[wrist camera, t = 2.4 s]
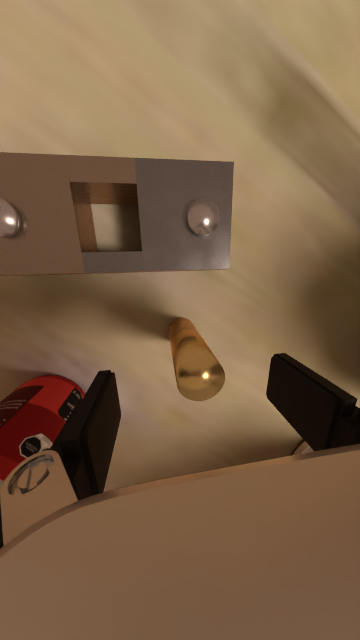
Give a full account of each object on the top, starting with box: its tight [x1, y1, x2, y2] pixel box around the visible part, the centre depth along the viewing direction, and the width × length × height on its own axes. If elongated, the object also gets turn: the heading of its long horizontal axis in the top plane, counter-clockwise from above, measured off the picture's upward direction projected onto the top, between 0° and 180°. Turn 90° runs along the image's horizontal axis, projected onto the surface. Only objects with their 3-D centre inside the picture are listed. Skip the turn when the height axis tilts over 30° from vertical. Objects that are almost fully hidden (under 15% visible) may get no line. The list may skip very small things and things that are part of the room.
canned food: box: [0, 375, 85, 492], centre depth 16 cm, size 8×8×11 cm
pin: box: [168, 318, 225, 401], centre depth 16 cm, size 3×3×10 cm
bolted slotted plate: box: [0, 152, 234, 276], centre depth 15 cm, size 20×8×5 cm, turn 92°
